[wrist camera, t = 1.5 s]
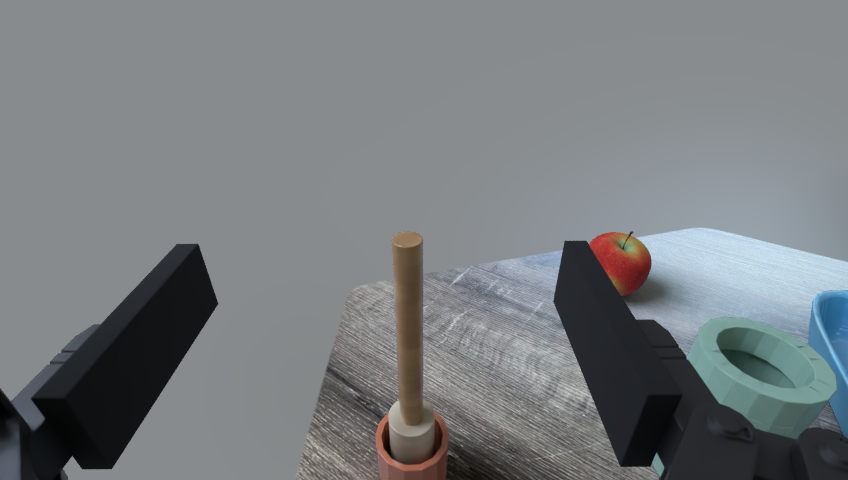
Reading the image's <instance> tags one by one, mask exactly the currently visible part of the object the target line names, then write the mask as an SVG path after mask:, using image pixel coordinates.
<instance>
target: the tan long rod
mask: <svg viewBox="0 0 848 480" xmlns="http://www.w3.org/2000/svg"><path fill="white" fill-rule="evenodd" d="M392 255H393V277H394V298H395V320H396V341H397V362H398V384H399V400H398V401H397V402H396V403H395V404H394V405H393V406H392V407H391V409H390V411H389V416H388V420H389V434H390V449H391V458H392V459H393V460H395V461H398V462H400V463H402V464H405V465H414V464H421V463H423V462H425V461H427V460H429V459H431V458H433V457H434V436H435V413H434V410H433V408H432V406H431V405H430V403H428V402H427V401H426V400H424V399H423V239H422V236H421V235H420V234H417V233H415V232H408V231H407V232H400V233H398V234H396V235H394V236H393V238H392Z"/></svg>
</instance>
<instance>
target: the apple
mask: <svg viewBox="0 0 848 480" xmlns="http://www.w3.org/2000/svg"><path fill="white" fill-rule="evenodd" d="M632 233H633V232H630V234H629V235H627V234H623V233H616V232H611V233H605V234H602V235H600V236H597V237H596V238H595V239H593V240H592V241H591V242H590V244H589V246H590V248H591V249H592V251H593V252H594V254H595V256H596V257H597V259H598V260H599V262H600V263H601V265H602V267H603V268H604V270H605V271H606V273H607V275H608V276H609V278H610V279H611V281H612V283H613V284H614V286H615V287H616V289H617V291H618V292H619V294H620V295H621V296H625V295H628V294H630V293H632V292H634V291H635V290H637V289H638V288H639V287H640V286H641V285H642V284H643V283H644V282H645V280H646V279H647V277H648V275H649V272H650V269H651V256H650V253H649V251H648V249H647V248H646V247H645V245H644V244H643V243H642V242H640V241H639V240H638V239H636V238H634V237H632V236H630V235H631V234H632Z"/></svg>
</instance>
